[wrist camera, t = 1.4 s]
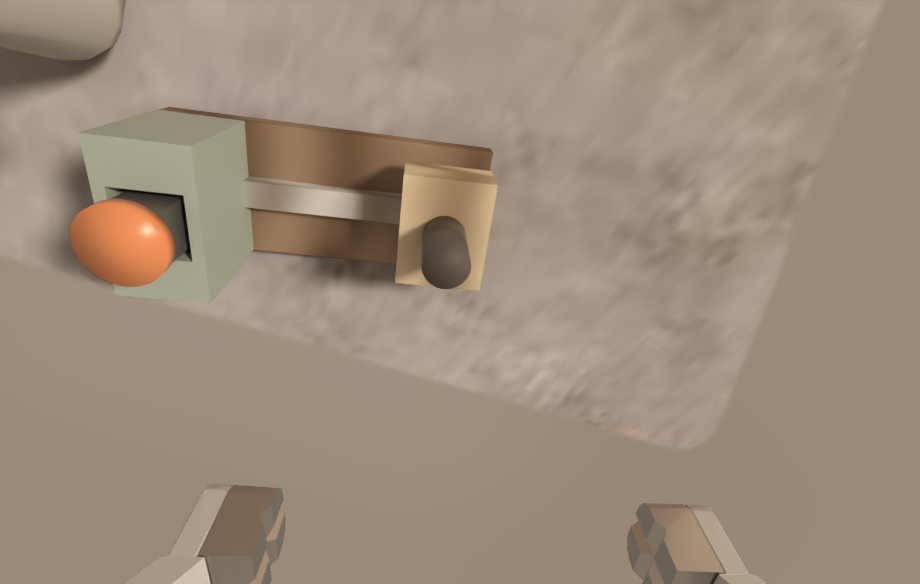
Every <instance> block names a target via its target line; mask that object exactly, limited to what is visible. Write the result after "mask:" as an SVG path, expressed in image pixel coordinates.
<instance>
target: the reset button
mask: <svg viewBox="0 0 920 584" xmlns="http://www.w3.org/2000/svg"><path fill="white" fill-rule="evenodd" d="M69 233H70V242H71V245H72V248H73V250H74V252H75V254H76V256H77V257H78V259H79V260H80V261H81V263H82V264H83V265H84V266H85V267H86V268H87V269H88V270H89V271H91V272H92V273H93V274H95V275H96V276H98V277H99V278H101V279H103V280H105V281H107V282H109V283H112V284H115V285H119V286H125V287H139V286H144V285H147V284H150V283H152V282H153V281H155V280H156V279H158V278H159V277H160V276H161V275H162V274H163V273H164V272H165V271H166V270H167V269H168V268H169V267H170V266H171V264H172V263H173V262H174V261H175V260H177V259H178V258H179V257H180V256H181V255H182V254H183V253H184V252H185V251H187V250H188V249H189V248H190V240H189V233H188V226H187V218H186V211H185V204H184V197H183V195H175V194H166V193H157V192H148V191H139V190H130V189H128V190H126V191H125V192H123V193H121V194H119V195H117V196H115V197H113V198H111V199H106V200H102V201H99V202H97V203H95V204H93V205H91V206H89V207H87V208H85V209H84V210H82V211H80V212H79V213H78V214H77V215H76V216H75V218H74V219H73V221H72V223H71V226H70V232H69Z"/></svg>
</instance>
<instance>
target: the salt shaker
mask: <svg viewBox="0 0 920 584" xmlns="http://www.w3.org/2000/svg"><path fill="white" fill-rule="evenodd" d="M124 7H125V0H0V48H5V49H10V50H14V51H19V52H24V53H29V54H33V55H38V56H43V57H48V58H52V59H57V60H88V59H90V58H93V57H95V56H96V55H98V54H100V53H102V52H103V51H105V50H107V49H109V48H111V47H112V46H113V45H114V43H115V41H116V39H117V38H118V36H119V34H120V32H121V26H122V21H123V13H124Z"/></svg>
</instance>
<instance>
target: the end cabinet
mask: <svg viewBox="0 0 920 584" xmlns="http://www.w3.org/2000/svg"><path fill="white" fill-rule="evenodd" d="M78 135H79V140H80V144H81V149H82V153H83V157H84V162H85V166H86V170H87V175H88V179H89V184H90V188H91V192H92V197H93V201H94V204H95V203H97V202H99V201H102V200H106V199H111V198H113V197H115V196H117V195H119V194H121V193H123V192H125V191H126V190H128V189H130V190H139V191H148V192H157V193H166V194H175V195H183V197H184V204H185V211H186V218H187V226H188V233H189V240H190V248H189V249H188V250H187V251H185V252H184V253H183V254H182V255H181V256H180V257H179V258H178V259H177V260H175V261H174V262H173V263H172V264H171V266H170V267H169V268H168V269H167V270H166V271H165V272H164V273H163V274H162V275H161V276H160V277H159V278H158V279H156V280H155V281H153V282H152V283H150V284H147V285H144V286H139V287H125V286H119V285H115V284H113V289H114V293H115V295H119V296H131V297H142V298H154V299H166V300H177V301H189V302H201V303H211V302H212V300H213V299H214V298H215V297H216V296H217V294H218V293H219V292H220V291H221V289H222V288H223V287H224V286H225V284H226V283H227V282H228V281H229V280H230V278H231V277H232V276H233V275H234V273H235V272H236V271H237V270H238V268H239V267H240V266H241V265H242V263H243V262H244V261H245V260H246V259H247V257H248V256H249V255H250V254H251V252H252V251H253V250H254V248H253V233H252V219H251V208H247V207H245V203H244V190H243V180H245V179H246V178H247V177H248V162H247V148H246V134H245V121H241V120H233V119H226V118H218V117H210V116H202V115H195V114H187V113H179V112H171V111H163V110H157V111H153V112H150V113H146V114H142V115H139V116H135V117H132V118H128V119H125V120H121V121H118V122H114V123H110V124H107V125H103V126H100V127H96V128H93V129H89V130H86V131H82V132H78Z"/></svg>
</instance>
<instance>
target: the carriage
mask: <svg viewBox="0 0 920 584" xmlns="http://www.w3.org/2000/svg"><path fill="white" fill-rule="evenodd" d="M497 188H498V184H497V182H496V180H495V178H494V176H493V174H492V171H486V170H478V169H469V168H461V167H453V166H445V165H437V164H429V163H421V162H413V161H406V164H405V170H404V177H403V190H402V202H401V214H400V226H399V238H398V251H397V263H396V275H395V283H402V284H413V285H423V286H434V287H437V288H441V289H451V288H455V289H466V290H476V291H479V290H480V284H481V279H482V273H483V267H484V262H485V256H486V250H487V245H488V239H489V233H490V228H491V222H492V216H493V211H494V205H495V199H496V194H497Z"/></svg>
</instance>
